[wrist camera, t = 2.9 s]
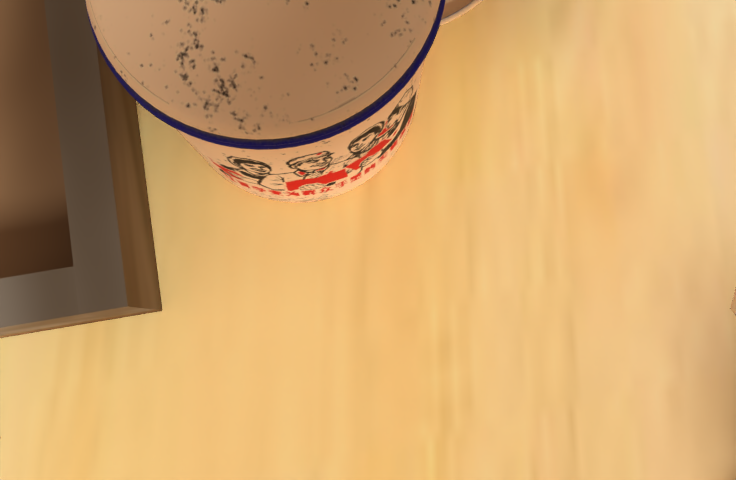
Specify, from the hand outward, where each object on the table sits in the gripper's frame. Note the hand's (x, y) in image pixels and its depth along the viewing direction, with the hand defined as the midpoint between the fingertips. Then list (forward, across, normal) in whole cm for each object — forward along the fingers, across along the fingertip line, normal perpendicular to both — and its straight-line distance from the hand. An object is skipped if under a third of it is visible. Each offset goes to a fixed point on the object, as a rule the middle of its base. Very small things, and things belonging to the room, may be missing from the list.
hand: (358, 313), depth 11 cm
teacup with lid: (+16, 0, -3) cm, 16 cm away
